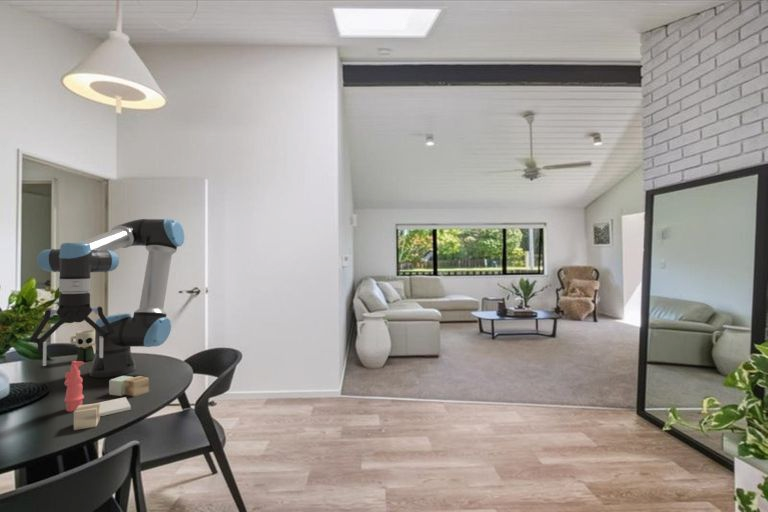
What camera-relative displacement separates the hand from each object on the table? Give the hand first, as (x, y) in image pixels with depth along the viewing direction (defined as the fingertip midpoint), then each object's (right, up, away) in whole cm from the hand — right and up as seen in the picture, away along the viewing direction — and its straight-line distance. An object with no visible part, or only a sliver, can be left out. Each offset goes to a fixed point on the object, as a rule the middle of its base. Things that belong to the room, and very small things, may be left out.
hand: (73, 360), depth 118 cm
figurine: (0, -15, 0) cm, 15 cm away
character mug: (-37, -14, +52) cm, 66 cm away
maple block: (+12, -15, -10) cm, 22 cm away
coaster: (+10, -15, +1) cm, 18 cm away
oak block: (+10, -15, +14) cm, 23 cm away
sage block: (+5, -15, +14) cm, 21 cm away
